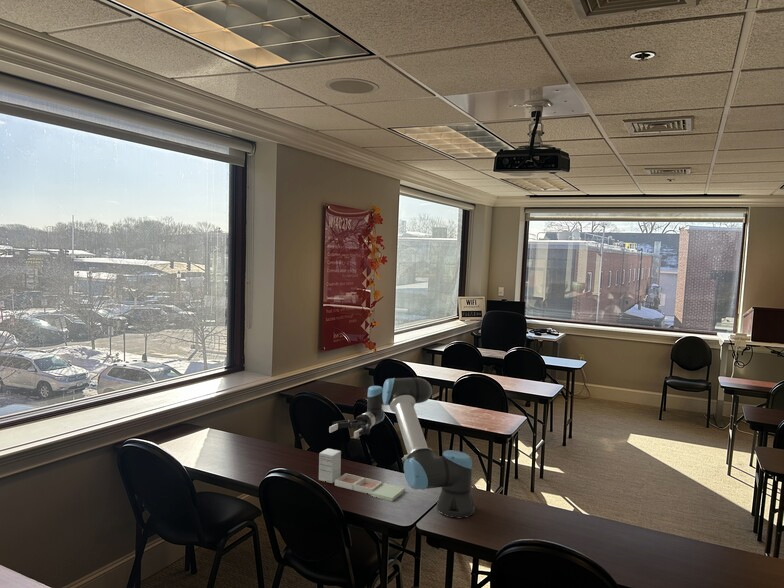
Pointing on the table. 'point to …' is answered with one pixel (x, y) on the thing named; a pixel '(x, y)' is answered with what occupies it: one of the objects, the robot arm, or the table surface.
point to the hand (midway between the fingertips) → (342, 432)
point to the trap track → (369, 486)
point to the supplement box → (329, 465)
